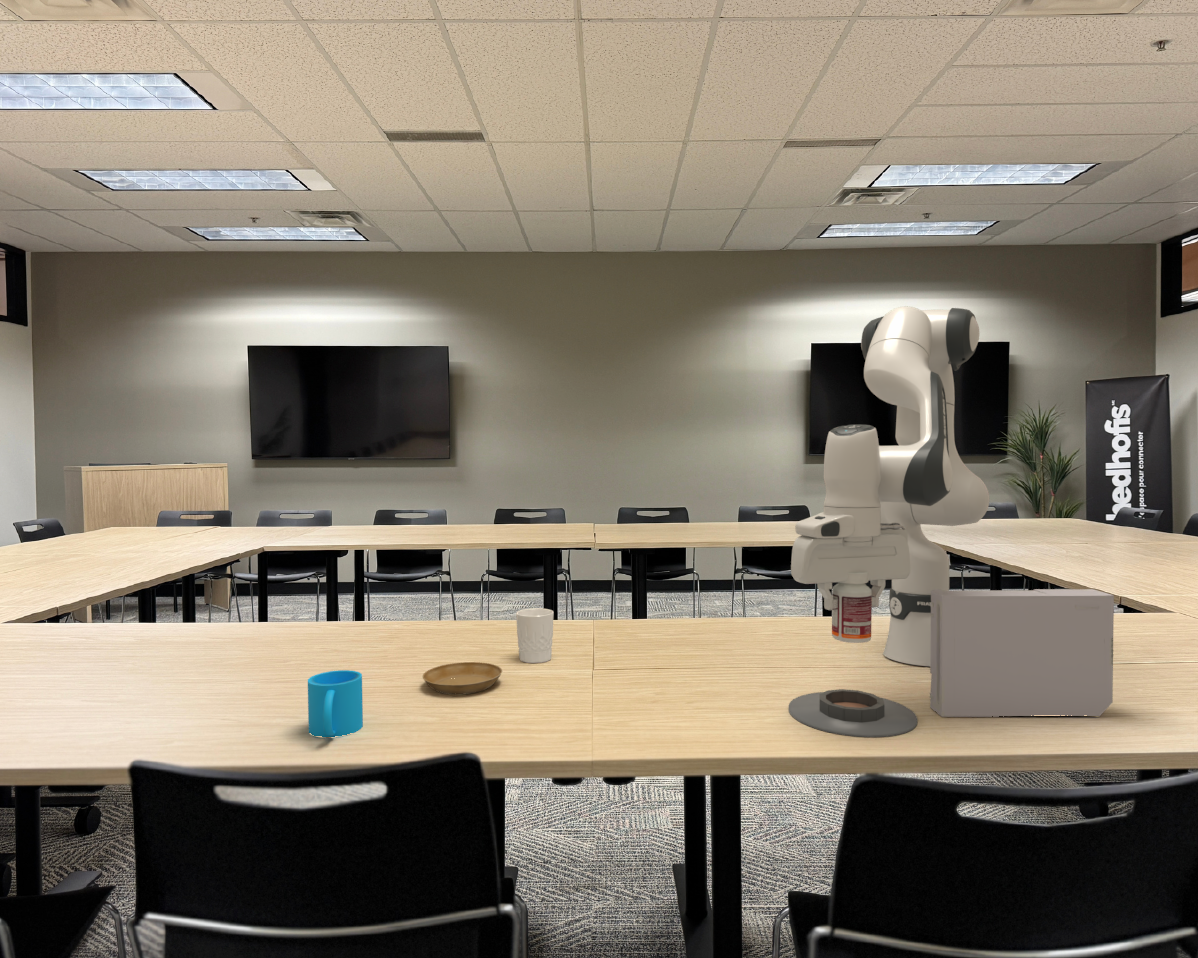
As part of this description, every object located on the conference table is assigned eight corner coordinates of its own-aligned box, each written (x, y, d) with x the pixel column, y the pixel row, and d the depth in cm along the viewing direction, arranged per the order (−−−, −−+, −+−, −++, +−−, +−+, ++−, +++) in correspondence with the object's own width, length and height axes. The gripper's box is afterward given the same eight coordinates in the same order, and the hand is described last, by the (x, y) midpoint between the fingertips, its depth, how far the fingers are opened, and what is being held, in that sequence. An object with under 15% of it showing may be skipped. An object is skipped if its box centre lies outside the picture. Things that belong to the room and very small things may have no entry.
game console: (926, 705, 125) (926, 589, 125) (1089, 705, 124) (1090, 588, 124) (940, 717, 119) (941, 595, 119) (1112, 718, 118) (1113, 595, 118)
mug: (314, 721, 120) (313, 671, 120) (366, 717, 122) (365, 668, 121) (298, 750, 108) (296, 695, 108) (355, 745, 110) (354, 691, 110)
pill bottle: (879, 640, 120) (880, 571, 119) (854, 645, 116) (855, 574, 116) (847, 633, 125) (848, 566, 125) (823, 637, 122) (824, 569, 121)
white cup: (509, 662, 154) (509, 614, 153) (527, 652, 161) (527, 607, 161) (543, 665, 151) (543, 617, 150) (560, 655, 158) (559, 609, 158)
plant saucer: (406, 694, 134) (406, 680, 134) (448, 671, 148) (448, 658, 148) (479, 702, 129) (478, 688, 129) (515, 678, 143) (515, 664, 143)
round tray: (868, 690, 133) (868, 676, 133) (945, 729, 114) (945, 713, 114) (767, 700, 128) (767, 685, 128) (830, 743, 109) (830, 726, 109)
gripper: (895, 520, 126) (894, 601, 126) (786, 524, 121) (786, 607, 121) (919, 523, 120) (919, 608, 120) (806, 527, 115) (805, 615, 115)
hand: (851, 608), depth 121 cm, fingers closed on pill bottle, 6 cm apart
